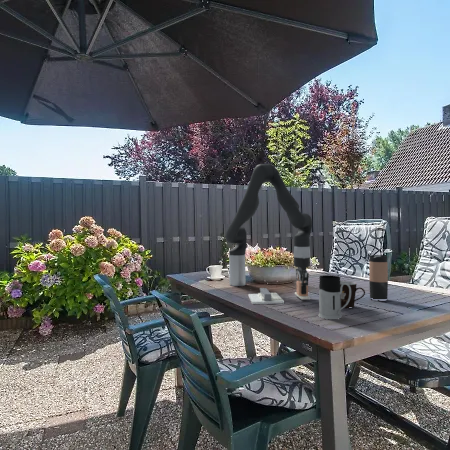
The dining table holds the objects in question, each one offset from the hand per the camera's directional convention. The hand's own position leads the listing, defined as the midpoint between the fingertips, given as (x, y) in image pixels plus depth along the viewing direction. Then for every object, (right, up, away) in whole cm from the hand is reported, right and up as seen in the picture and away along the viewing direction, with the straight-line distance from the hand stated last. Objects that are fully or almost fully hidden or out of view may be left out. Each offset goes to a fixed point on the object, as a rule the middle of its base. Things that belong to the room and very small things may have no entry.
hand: (302, 292), depth 156 cm
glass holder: (+5, -3, -32) cm, 32 cm away
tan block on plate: (0, -2, 0) cm, 2 cm away
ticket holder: (-17, -3, -1) cm, 17 cm away
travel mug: (+34, -3, -4) cm, 34 cm away
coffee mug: (+15, -3, -16) cm, 23 cm away
